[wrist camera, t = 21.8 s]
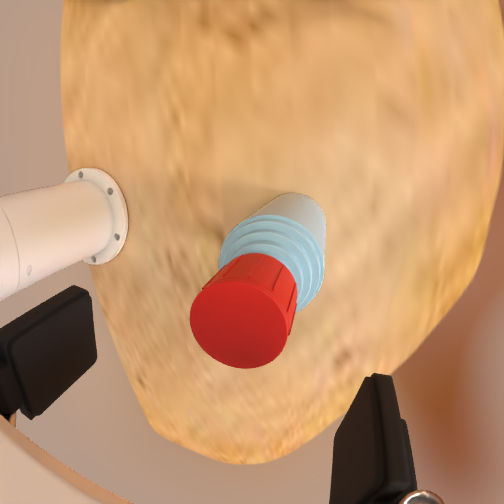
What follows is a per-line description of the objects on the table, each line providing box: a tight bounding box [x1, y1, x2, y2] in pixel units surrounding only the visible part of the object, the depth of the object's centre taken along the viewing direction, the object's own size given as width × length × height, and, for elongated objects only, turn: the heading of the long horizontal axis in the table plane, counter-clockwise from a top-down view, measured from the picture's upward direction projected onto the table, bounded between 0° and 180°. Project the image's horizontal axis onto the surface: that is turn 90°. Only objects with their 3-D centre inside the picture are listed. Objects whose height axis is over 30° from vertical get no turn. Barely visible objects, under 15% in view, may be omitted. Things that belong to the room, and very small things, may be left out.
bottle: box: [219, 193, 326, 313], centre depth 21 cm, size 6×6×20 cm
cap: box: [190, 253, 298, 369], centre depth 14 cm, size 4×4×4 cm
